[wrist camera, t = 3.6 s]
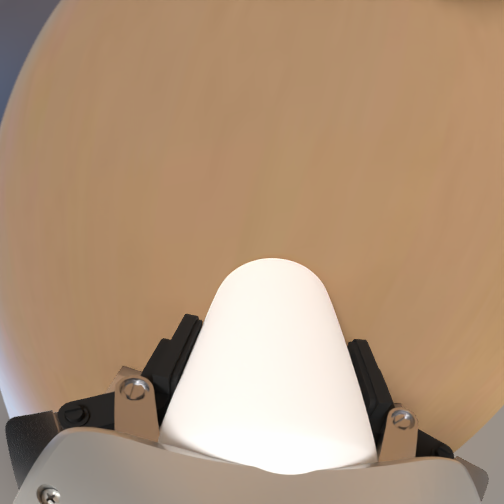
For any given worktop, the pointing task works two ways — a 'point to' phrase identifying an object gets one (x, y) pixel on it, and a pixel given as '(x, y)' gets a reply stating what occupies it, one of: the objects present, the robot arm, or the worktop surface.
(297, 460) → the can
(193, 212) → the worktop surface
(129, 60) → the worktop surface
